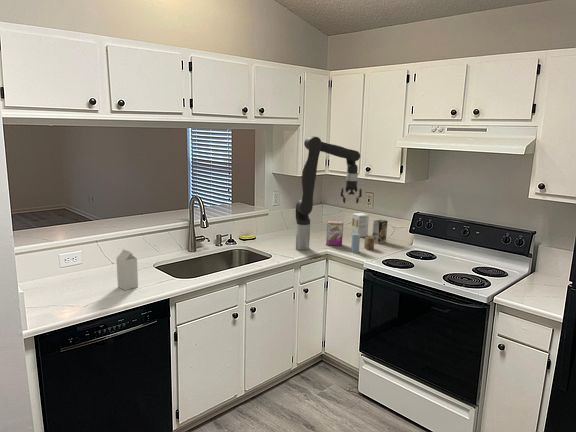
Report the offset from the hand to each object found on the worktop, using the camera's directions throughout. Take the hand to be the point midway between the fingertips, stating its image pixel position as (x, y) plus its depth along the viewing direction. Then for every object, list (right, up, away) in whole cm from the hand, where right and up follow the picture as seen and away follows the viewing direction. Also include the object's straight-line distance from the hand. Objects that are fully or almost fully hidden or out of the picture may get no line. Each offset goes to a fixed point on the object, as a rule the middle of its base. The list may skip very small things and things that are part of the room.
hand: (350, 203), depth 309 cm
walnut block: (+12, -32, -3) cm, 34 cm away
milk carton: (-123, -45, -87) cm, 157 cm away
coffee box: (+23, -28, +16) cm, 40 cm away
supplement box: (+12, -24, +36) cm, 45 cm away
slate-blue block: (+1, -33, -11) cm, 35 cm away
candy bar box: (-11, -30, +6) cm, 32 cm away
